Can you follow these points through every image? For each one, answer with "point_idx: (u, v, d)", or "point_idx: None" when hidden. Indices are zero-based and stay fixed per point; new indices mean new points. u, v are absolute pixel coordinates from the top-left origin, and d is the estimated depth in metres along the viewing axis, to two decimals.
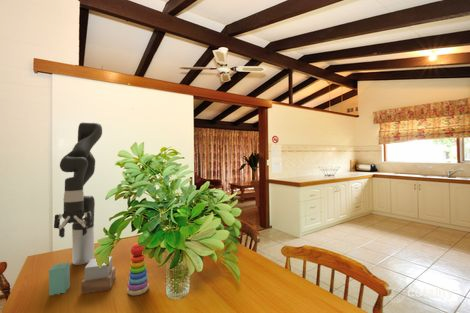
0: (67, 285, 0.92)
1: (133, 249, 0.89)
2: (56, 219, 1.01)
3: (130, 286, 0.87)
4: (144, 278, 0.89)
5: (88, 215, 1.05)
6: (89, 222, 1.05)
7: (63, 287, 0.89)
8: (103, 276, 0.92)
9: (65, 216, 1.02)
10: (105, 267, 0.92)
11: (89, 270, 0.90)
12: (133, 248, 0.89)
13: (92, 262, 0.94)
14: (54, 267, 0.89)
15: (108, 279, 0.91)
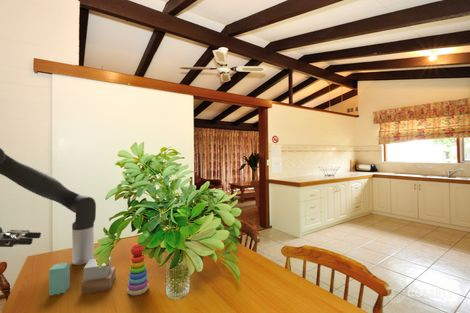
0: (67, 285, 0.92)
1: (133, 249, 0.89)
2: None
3: (130, 286, 0.87)
4: (144, 278, 0.89)
5: None
6: None
7: (63, 287, 0.89)
8: (102, 277, 0.91)
9: None
10: (104, 268, 0.92)
11: (87, 271, 0.90)
12: (133, 248, 0.89)
13: (91, 263, 0.94)
14: (54, 267, 0.89)
15: (108, 279, 0.91)
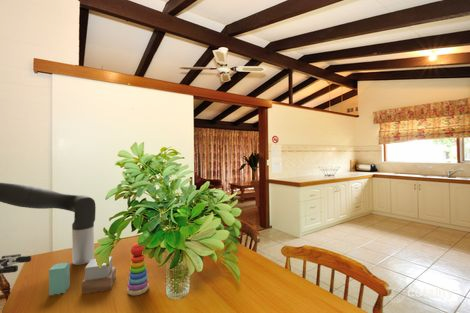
0: (67, 285, 0.92)
1: (133, 249, 0.89)
2: None
3: (130, 286, 0.87)
4: (144, 278, 0.89)
5: None
6: None
7: (63, 287, 0.89)
8: (103, 276, 0.92)
9: None
10: (105, 267, 0.92)
11: (89, 270, 0.90)
12: (133, 248, 0.89)
13: (92, 262, 0.94)
14: (54, 267, 0.89)
15: (108, 279, 0.91)
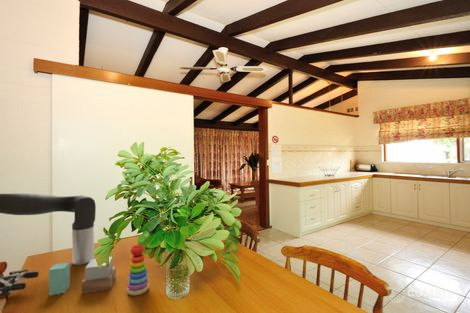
0: (67, 285, 0.92)
1: (133, 249, 0.89)
2: None
3: (130, 286, 0.87)
4: (144, 278, 0.89)
5: None
6: None
7: (63, 287, 0.89)
8: (104, 276, 0.91)
9: None
10: (106, 267, 0.92)
11: (89, 270, 0.90)
12: (133, 248, 0.89)
13: (93, 262, 0.94)
14: (54, 267, 0.89)
15: (108, 279, 0.91)
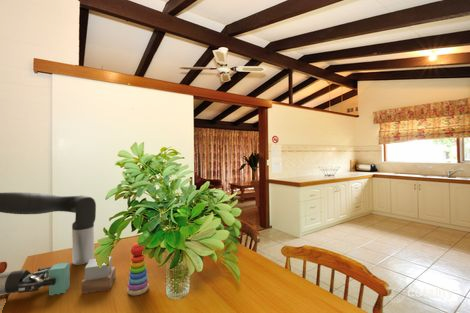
0: (67, 285, 0.92)
1: (133, 249, 0.89)
2: None
3: (130, 286, 0.87)
4: (144, 278, 0.89)
5: None
6: (33, 290, 0.83)
7: (63, 287, 0.89)
8: (103, 276, 0.92)
9: None
10: (105, 267, 0.92)
11: (89, 270, 0.90)
12: (133, 248, 0.89)
13: (92, 262, 0.94)
14: (54, 267, 0.89)
15: (108, 279, 0.91)
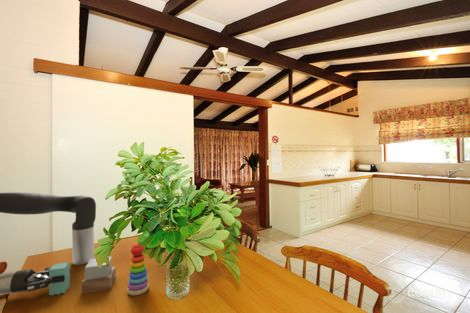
0: (67, 284, 0.92)
1: (133, 249, 0.89)
2: None
3: (130, 286, 0.87)
4: (144, 278, 0.89)
5: None
6: None
7: (63, 287, 0.89)
8: (103, 276, 0.92)
9: None
10: (105, 266, 0.92)
11: (89, 270, 0.90)
12: (133, 248, 0.89)
13: (92, 262, 0.94)
14: (54, 267, 0.89)
15: (108, 279, 0.91)
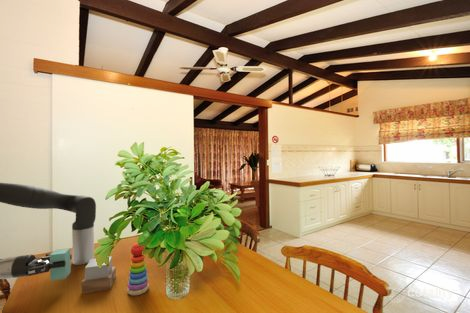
0: (68, 270, 0.92)
1: (133, 249, 0.89)
2: None
3: (130, 286, 0.87)
4: (144, 278, 0.89)
5: None
6: (44, 271, 0.85)
7: (64, 272, 0.89)
8: (103, 276, 0.92)
9: None
10: (105, 267, 0.92)
11: (89, 270, 0.90)
12: (133, 248, 0.89)
13: (92, 262, 0.94)
14: (55, 252, 0.90)
15: (108, 279, 0.91)
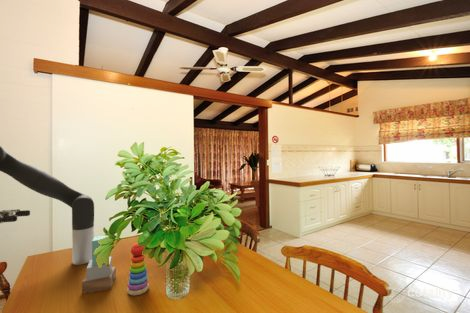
0: None
1: (133, 249, 0.89)
2: (8, 216, 0.95)
3: (130, 286, 0.87)
4: (144, 278, 0.89)
5: None
6: None
7: None
8: (105, 276, 0.92)
9: None
10: None
11: (90, 271, 0.90)
12: (133, 248, 0.89)
13: None
14: (95, 239, 0.93)
15: (108, 279, 0.91)
